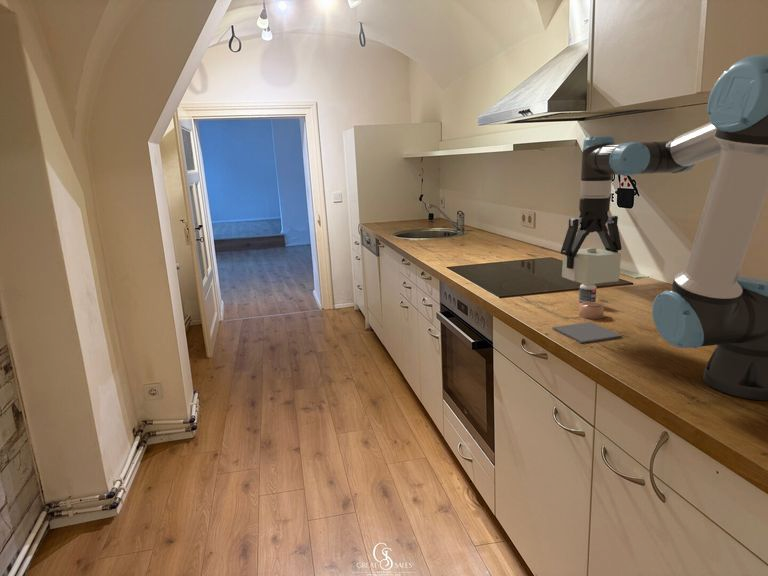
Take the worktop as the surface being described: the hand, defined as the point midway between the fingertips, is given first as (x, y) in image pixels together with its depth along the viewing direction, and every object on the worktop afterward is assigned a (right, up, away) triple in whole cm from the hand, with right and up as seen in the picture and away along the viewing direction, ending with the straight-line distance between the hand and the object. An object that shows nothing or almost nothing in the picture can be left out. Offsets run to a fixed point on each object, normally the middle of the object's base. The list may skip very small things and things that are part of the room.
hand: (589, 278), depth 139 cm
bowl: (+8, -11, +19) cm, 24 cm away
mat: (+1, -16, +4) cm, 16 cm away
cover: (0, 0, 0) cm, 0 cm away
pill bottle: (+12, -8, +31) cm, 35 cm away
